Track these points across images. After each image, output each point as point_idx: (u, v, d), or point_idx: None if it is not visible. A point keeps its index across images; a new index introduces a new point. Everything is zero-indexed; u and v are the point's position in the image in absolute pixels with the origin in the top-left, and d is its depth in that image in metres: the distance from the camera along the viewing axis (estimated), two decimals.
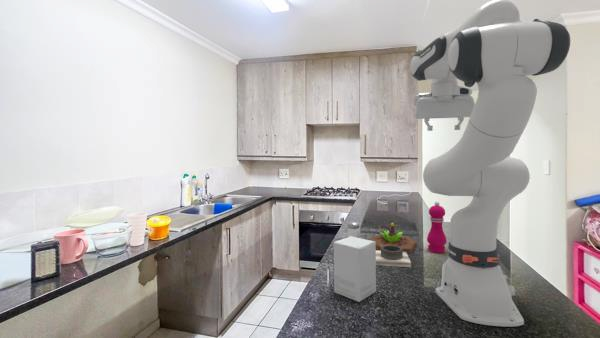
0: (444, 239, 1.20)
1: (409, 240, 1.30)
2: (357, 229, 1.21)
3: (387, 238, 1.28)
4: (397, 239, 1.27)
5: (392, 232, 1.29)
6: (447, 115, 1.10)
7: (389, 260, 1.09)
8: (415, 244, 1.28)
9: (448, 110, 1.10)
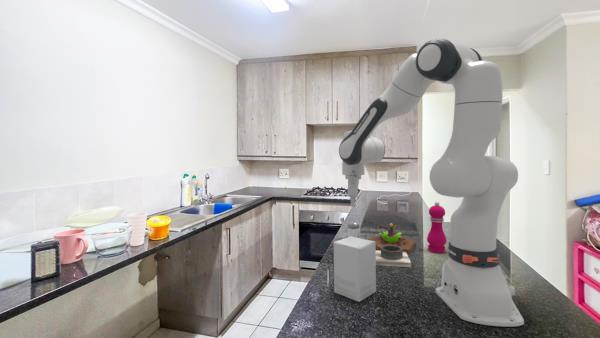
0: (444, 239, 1.20)
1: (408, 240, 1.29)
2: (357, 229, 1.21)
3: (386, 238, 1.27)
4: (396, 239, 1.26)
5: (391, 232, 1.29)
6: None
7: (389, 260, 1.09)
8: (414, 244, 1.27)
9: None
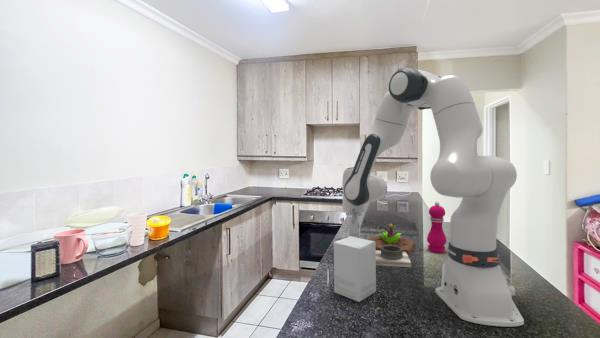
0: (444, 239, 1.20)
1: (408, 241, 1.28)
2: None
3: (386, 239, 1.26)
4: (396, 240, 1.25)
5: (391, 233, 1.28)
6: None
7: (389, 260, 1.09)
8: (414, 245, 1.26)
9: None
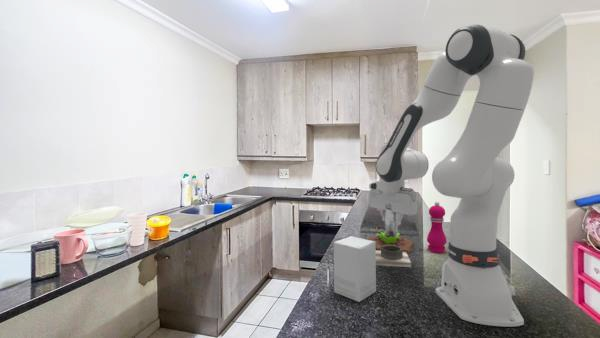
0: (444, 239, 1.20)
1: (406, 241, 1.28)
2: None
3: (384, 239, 1.26)
4: (394, 240, 1.25)
5: None
6: None
7: (389, 260, 1.09)
8: (412, 245, 1.26)
9: None
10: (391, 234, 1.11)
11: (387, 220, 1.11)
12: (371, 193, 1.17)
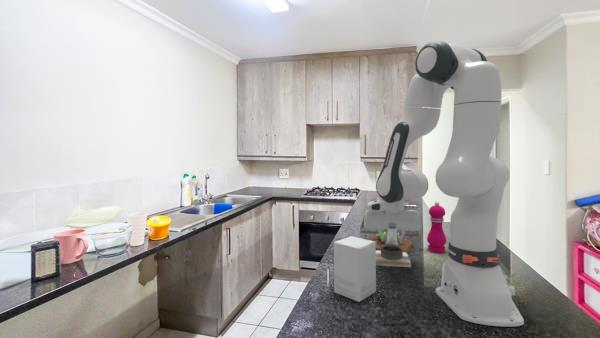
0: (444, 239, 1.20)
1: (406, 241, 1.28)
2: None
3: None
4: None
5: None
6: None
7: (389, 260, 1.09)
8: (412, 245, 1.26)
9: None
10: None
11: (392, 239, 1.10)
12: (369, 214, 1.11)
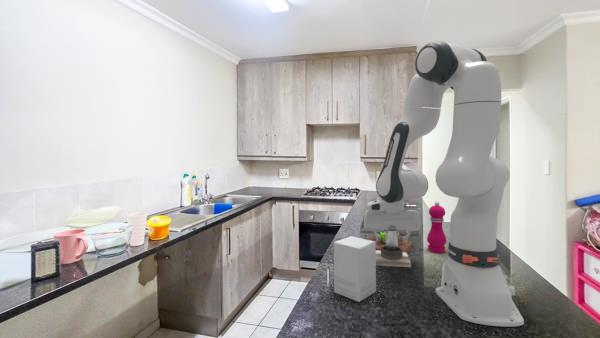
0: (444, 239, 1.20)
1: None
2: None
3: (383, 239, 1.26)
4: None
5: None
6: None
7: (389, 260, 1.09)
8: (411, 246, 1.26)
9: None
10: None
11: (392, 242, 1.10)
12: (369, 214, 1.11)
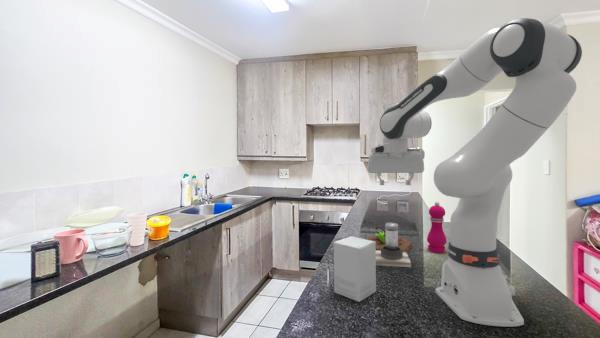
0: (444, 239, 1.20)
1: (404, 241, 1.28)
2: None
3: (382, 239, 1.26)
4: None
5: None
6: None
7: (389, 260, 1.09)
8: (410, 245, 1.26)
9: None
10: None
11: (392, 242, 1.10)
12: (373, 158, 1.12)
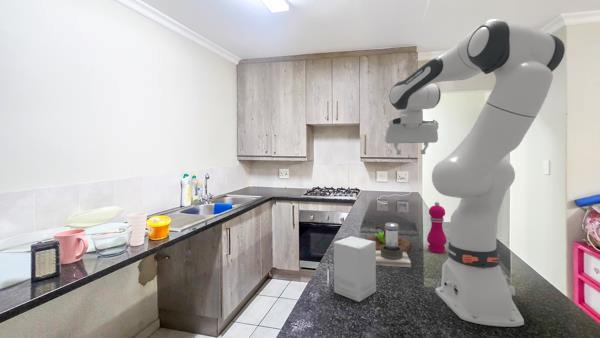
0: (444, 239, 1.20)
1: (404, 241, 1.28)
2: None
3: (381, 239, 1.27)
4: None
5: None
6: None
7: (389, 260, 1.09)
8: (410, 245, 1.26)
9: None
10: None
11: (392, 242, 1.10)
12: (391, 129, 1.22)
